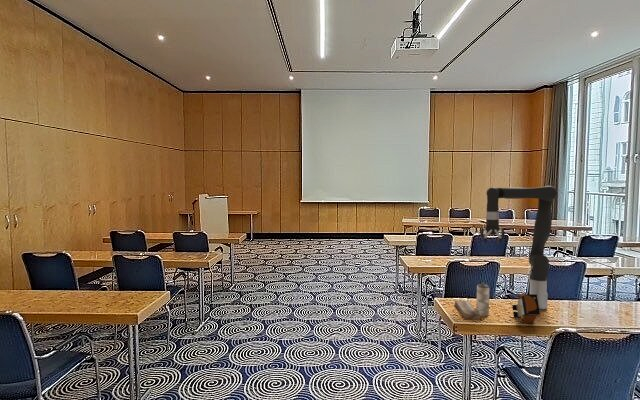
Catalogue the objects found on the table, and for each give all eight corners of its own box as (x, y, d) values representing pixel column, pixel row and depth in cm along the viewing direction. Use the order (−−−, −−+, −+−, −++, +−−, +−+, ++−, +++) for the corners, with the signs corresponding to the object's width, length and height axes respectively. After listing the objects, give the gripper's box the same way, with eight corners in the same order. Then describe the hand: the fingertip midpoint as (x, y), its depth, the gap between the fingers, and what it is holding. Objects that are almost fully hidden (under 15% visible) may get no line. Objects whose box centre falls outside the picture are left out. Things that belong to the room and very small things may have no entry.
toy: (510, 297, 247) (525, 289, 229) (520, 297, 247) (535, 289, 229) (515, 325, 241) (530, 320, 223) (525, 326, 240) (541, 320, 222)
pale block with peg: (486, 313, 250) (486, 281, 249) (488, 316, 244) (489, 283, 243) (476, 312, 250) (477, 281, 250) (478, 315, 245) (479, 283, 244)
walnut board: (468, 305, 266) (468, 301, 266) (480, 319, 237) (480, 314, 237) (454, 304, 267) (455, 300, 267) (465, 318, 238) (465, 314, 238)
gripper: (482, 219, 270) (482, 244, 270) (505, 219, 268) (505, 245, 268) (479, 218, 277) (479, 243, 277) (502, 218, 275) (502, 243, 276)
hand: (492, 244), depth 273 cm, fingers open, 8 cm apart
